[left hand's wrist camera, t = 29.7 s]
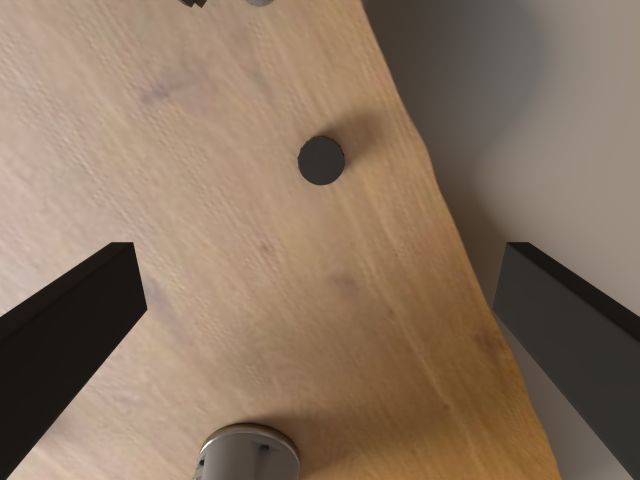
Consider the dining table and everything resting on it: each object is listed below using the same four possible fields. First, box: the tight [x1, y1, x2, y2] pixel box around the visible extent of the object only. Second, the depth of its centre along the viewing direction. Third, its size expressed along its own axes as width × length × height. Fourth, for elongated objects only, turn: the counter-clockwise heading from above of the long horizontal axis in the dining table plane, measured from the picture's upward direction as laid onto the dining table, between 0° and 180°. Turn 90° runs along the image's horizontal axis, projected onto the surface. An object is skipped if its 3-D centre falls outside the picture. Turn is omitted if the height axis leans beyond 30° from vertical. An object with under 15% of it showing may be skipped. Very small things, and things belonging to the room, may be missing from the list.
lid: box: [298, 136, 345, 185], centre depth 36 cm, size 5×5×2 cm
